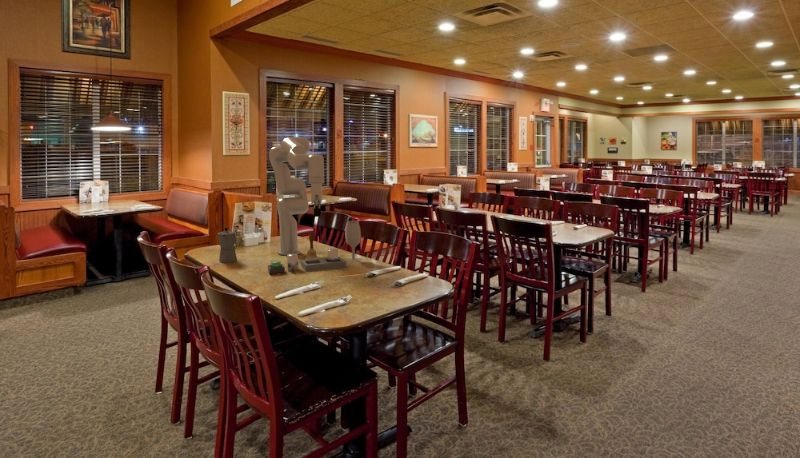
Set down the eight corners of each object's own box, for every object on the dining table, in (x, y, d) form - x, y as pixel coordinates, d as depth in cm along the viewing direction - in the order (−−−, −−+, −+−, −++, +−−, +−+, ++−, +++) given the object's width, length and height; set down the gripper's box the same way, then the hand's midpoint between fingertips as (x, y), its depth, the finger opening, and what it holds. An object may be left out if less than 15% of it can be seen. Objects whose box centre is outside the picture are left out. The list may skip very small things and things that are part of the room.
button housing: (268, 271, 244) (267, 265, 244) (282, 270, 247) (282, 264, 246) (269, 274, 238) (269, 268, 237) (284, 273, 240) (284, 267, 240)
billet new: (287, 270, 247) (286, 254, 245) (297, 269, 248) (296, 253, 247) (288, 272, 242) (288, 256, 241) (299, 271, 244) (298, 255, 242)
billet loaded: (327, 264, 254) (326, 249, 252) (336, 263, 255) (336, 248, 254) (329, 266, 249) (329, 251, 248) (339, 266, 251) (338, 250, 250)
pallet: (301, 267, 252) (300, 260, 252) (339, 263, 260) (339, 256, 259) (305, 272, 241) (305, 265, 241) (346, 268, 249) (345, 261, 248)
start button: (270, 266, 243) (270, 261, 243) (280, 265, 245) (279, 260, 244) (272, 268, 239) (271, 263, 239) (281, 267, 241) (281, 262, 240)
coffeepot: (235, 263, 261) (233, 229, 258) (216, 264, 260) (213, 229, 257) (240, 256, 276) (238, 224, 273) (222, 257, 275) (220, 225, 272)
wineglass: (361, 263, 260) (360, 223, 257) (344, 263, 260) (343, 223, 257) (362, 259, 269) (361, 220, 265) (346, 259, 269) (345, 220, 265)
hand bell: (321, 259, 270) (320, 229, 267) (317, 262, 262) (316, 232, 259) (306, 258, 271) (305, 229, 268) (302, 262, 263) (300, 232, 260)
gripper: (309, 179, 253) (310, 213, 256) (307, 181, 236) (309, 217, 239) (324, 179, 254) (325, 212, 257) (323, 181, 237) (325, 217, 240)
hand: (317, 215), depth 248 cm, fingers open, 9 cm apart
